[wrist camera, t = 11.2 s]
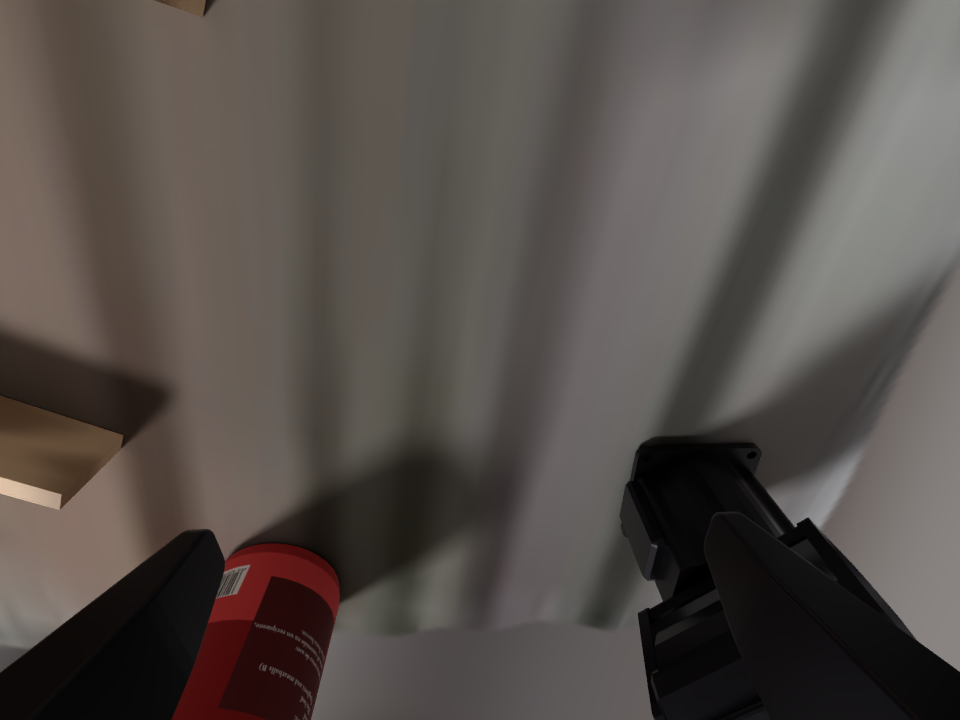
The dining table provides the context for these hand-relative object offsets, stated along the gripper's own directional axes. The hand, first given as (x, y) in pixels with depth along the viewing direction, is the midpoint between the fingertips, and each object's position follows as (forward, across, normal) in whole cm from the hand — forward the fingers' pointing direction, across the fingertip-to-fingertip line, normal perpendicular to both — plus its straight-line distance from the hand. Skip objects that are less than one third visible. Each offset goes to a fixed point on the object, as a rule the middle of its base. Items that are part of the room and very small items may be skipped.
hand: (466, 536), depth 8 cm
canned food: (+13, +12, +19) cm, 26 cm away
